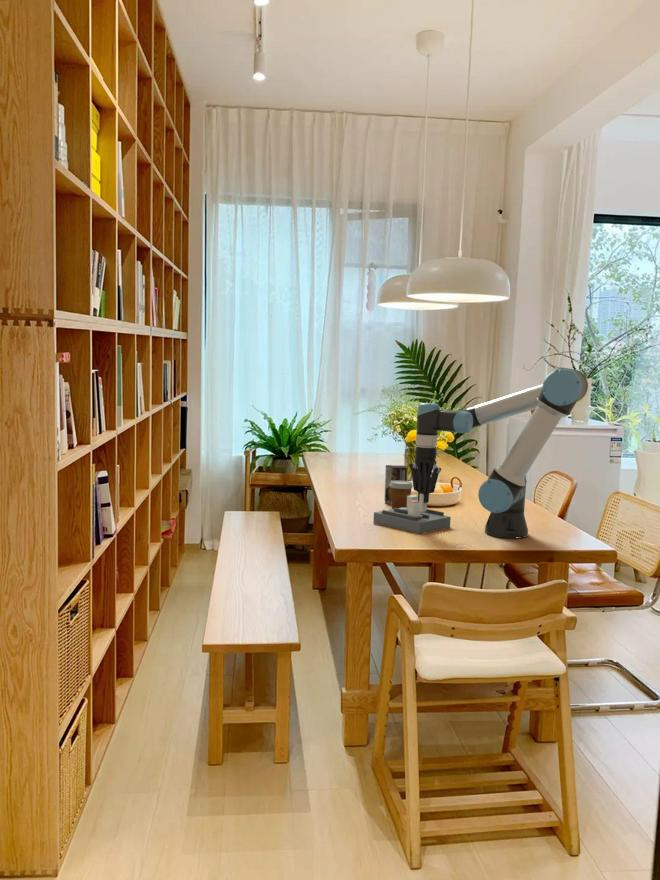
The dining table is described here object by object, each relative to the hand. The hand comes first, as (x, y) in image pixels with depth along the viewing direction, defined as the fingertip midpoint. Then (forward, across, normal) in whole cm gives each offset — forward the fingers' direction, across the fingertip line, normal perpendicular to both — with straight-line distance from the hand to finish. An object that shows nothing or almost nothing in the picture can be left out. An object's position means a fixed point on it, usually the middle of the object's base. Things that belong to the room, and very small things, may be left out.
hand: (422, 511), depth 272 cm
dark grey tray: (+7, +8, -4) cm, 11 cm away
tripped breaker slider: (+3, +4, 0) cm, 5 cm away
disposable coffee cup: (+7, +28, -21) cm, 36 cm away
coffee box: (+8, +41, -33) cm, 53 cm away
